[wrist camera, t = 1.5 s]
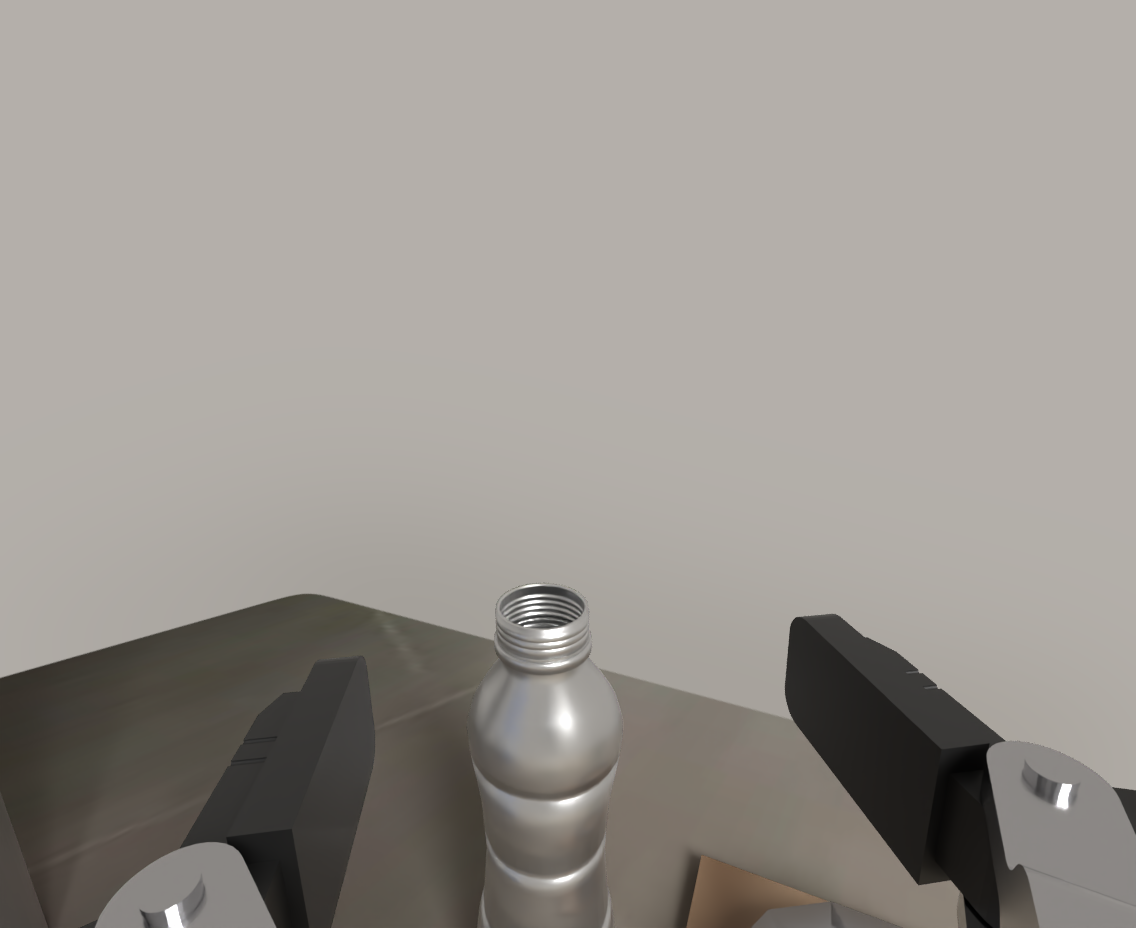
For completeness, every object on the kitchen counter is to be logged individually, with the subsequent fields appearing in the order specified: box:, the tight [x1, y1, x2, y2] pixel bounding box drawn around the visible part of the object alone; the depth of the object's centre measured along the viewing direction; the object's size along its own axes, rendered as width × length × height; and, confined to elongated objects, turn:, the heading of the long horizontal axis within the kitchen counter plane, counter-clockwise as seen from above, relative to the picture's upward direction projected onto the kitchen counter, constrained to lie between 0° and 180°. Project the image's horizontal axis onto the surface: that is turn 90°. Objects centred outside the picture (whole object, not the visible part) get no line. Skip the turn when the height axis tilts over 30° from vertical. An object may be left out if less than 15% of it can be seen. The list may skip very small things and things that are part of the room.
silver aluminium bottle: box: [467, 583, 623, 928], centre depth 25 cm, size 6×7×20 cm
